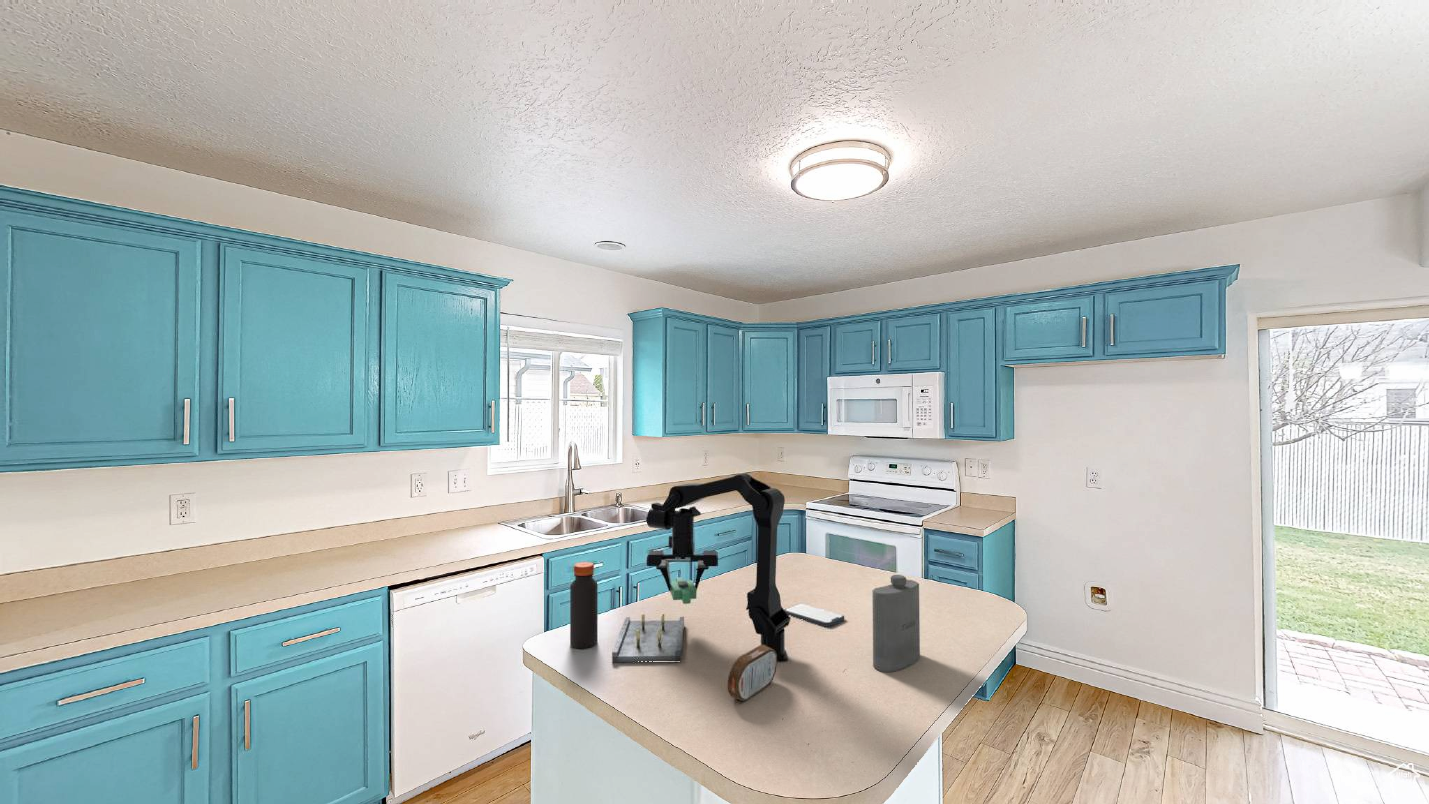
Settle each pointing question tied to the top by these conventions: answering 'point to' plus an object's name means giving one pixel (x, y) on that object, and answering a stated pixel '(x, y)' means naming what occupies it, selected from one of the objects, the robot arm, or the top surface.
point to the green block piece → (683, 590)
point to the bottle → (583, 607)
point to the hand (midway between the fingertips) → (682, 590)
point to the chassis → (649, 641)
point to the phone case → (815, 615)
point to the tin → (752, 672)
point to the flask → (896, 625)
